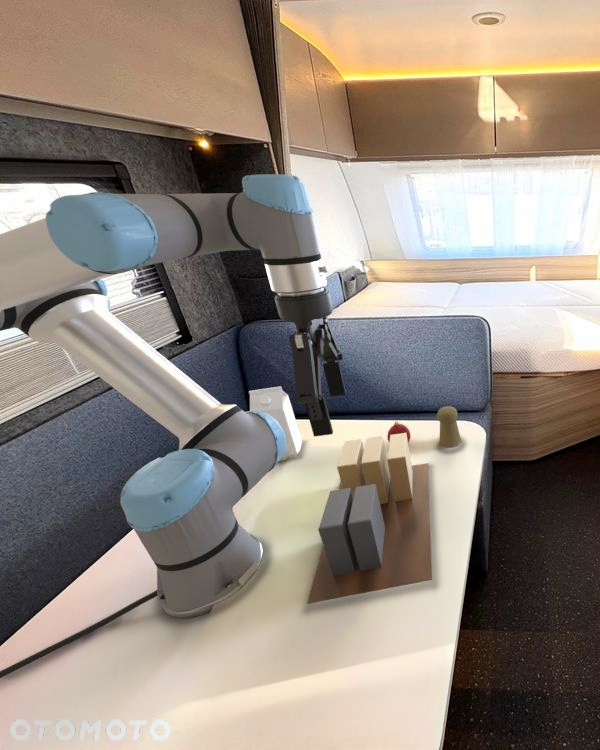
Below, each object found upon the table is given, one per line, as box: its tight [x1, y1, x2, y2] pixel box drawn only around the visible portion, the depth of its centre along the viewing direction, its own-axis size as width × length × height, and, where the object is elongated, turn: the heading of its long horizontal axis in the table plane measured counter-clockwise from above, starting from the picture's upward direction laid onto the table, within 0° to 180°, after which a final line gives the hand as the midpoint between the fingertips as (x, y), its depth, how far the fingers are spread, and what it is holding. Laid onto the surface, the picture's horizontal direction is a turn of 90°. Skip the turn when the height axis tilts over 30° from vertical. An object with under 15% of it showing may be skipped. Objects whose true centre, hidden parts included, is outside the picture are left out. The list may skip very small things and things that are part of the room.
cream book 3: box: [387, 433, 413, 501], centre depth 84 cm, size 4×9×11 cm, turn 11°
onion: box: [386, 420, 412, 443], centre depth 100 cm, size 6×6×8 cm
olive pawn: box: [436, 405, 462, 449], centre depth 100 cm, size 6×6×11 cm
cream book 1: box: [336, 438, 366, 499], centre depth 83 cm, size 4×9×11 cm, turn 11°
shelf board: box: [307, 463, 433, 605], centre depth 78 cm, size 20×32×1 cm, turn 11°
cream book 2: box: [361, 435, 390, 504], centre depth 83 cm, size 4×9×11 cm, turn 11°
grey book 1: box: [317, 488, 357, 576], centre depth 68 cm, size 4×9×11 cm, turn 11°
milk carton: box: [248, 385, 303, 462], centre depth 98 cm, size 7×7×19 cm
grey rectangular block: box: [348, 484, 385, 571], centre depth 69 cm, size 4×9×11 cm, turn 11°
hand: (331, 412), depth 67 cm, fingers open, 13 cm apart
